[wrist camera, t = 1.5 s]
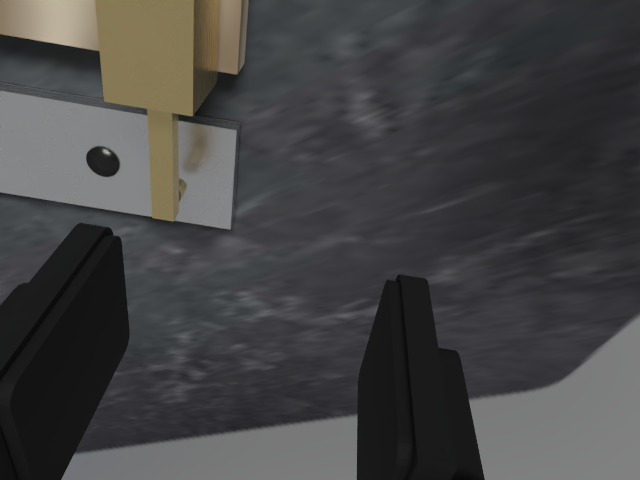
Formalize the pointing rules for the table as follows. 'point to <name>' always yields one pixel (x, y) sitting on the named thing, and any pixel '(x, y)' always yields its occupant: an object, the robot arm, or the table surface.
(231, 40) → the divider rail
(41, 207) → the table surface
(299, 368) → the table surface
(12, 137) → the bolt plate
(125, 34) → the sliding leg
